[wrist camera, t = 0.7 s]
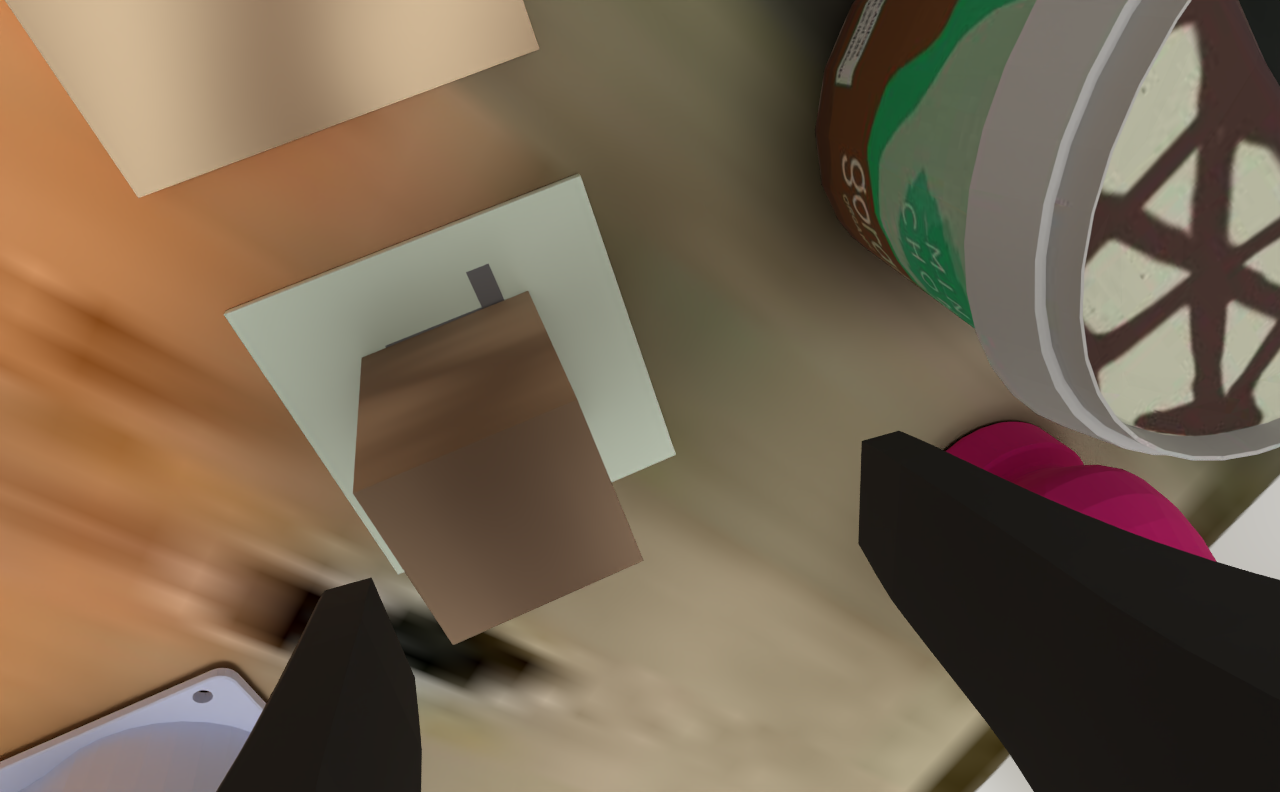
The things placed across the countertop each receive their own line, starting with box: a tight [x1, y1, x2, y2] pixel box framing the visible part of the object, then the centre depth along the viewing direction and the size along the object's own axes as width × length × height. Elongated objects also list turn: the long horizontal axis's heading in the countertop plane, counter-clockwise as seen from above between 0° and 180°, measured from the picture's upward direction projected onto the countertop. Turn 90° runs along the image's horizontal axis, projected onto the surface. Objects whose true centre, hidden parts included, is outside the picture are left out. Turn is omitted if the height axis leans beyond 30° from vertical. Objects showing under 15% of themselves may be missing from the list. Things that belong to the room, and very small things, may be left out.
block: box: [353, 291, 644, 645], centre depth 18 cm, size 4×4×6 cm
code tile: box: [224, 174, 676, 574], centre depth 21 cm, size 9×9×1 cm
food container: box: [815, 0, 1280, 460], centre depth 17 cm, size 12×6×10 cm, turn 48°
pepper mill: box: [946, 422, 1216, 562], centre depth 20 cm, size 7×7×20 cm
